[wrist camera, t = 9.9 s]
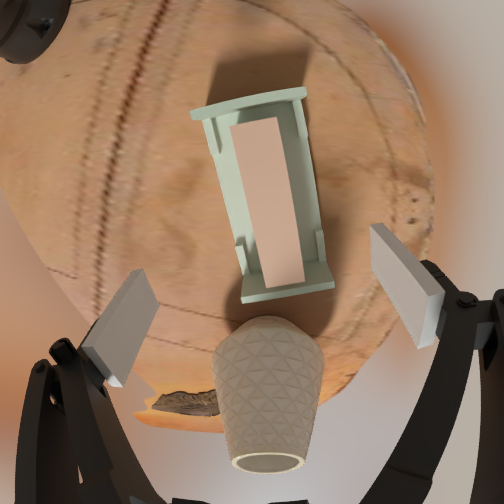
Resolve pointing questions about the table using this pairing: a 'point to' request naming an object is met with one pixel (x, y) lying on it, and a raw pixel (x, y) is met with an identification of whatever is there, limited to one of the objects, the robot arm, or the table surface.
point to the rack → (300, 178)
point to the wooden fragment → (189, 404)
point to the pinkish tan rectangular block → (269, 200)
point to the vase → (268, 393)
